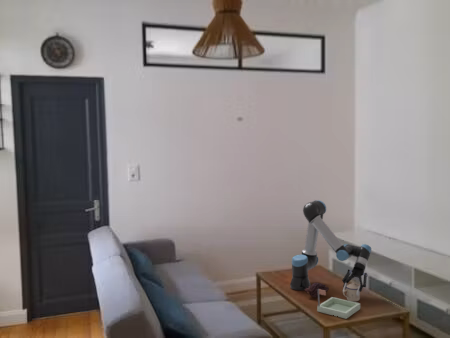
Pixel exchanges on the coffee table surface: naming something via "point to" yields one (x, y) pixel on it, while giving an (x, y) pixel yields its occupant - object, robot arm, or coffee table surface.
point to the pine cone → (316, 289)
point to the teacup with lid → (352, 292)
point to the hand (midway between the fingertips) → (350, 293)
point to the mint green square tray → (337, 306)
